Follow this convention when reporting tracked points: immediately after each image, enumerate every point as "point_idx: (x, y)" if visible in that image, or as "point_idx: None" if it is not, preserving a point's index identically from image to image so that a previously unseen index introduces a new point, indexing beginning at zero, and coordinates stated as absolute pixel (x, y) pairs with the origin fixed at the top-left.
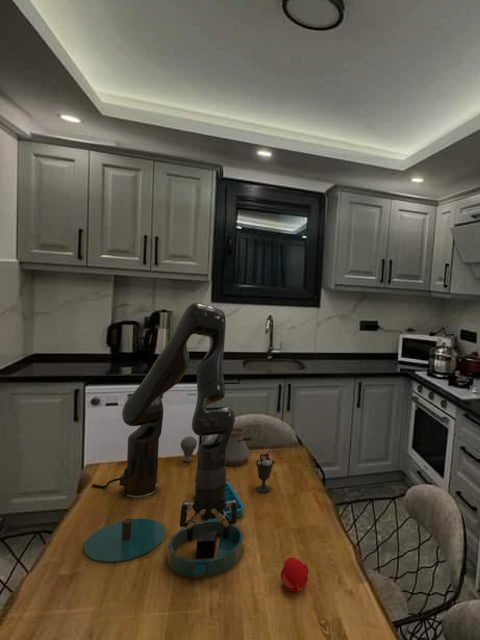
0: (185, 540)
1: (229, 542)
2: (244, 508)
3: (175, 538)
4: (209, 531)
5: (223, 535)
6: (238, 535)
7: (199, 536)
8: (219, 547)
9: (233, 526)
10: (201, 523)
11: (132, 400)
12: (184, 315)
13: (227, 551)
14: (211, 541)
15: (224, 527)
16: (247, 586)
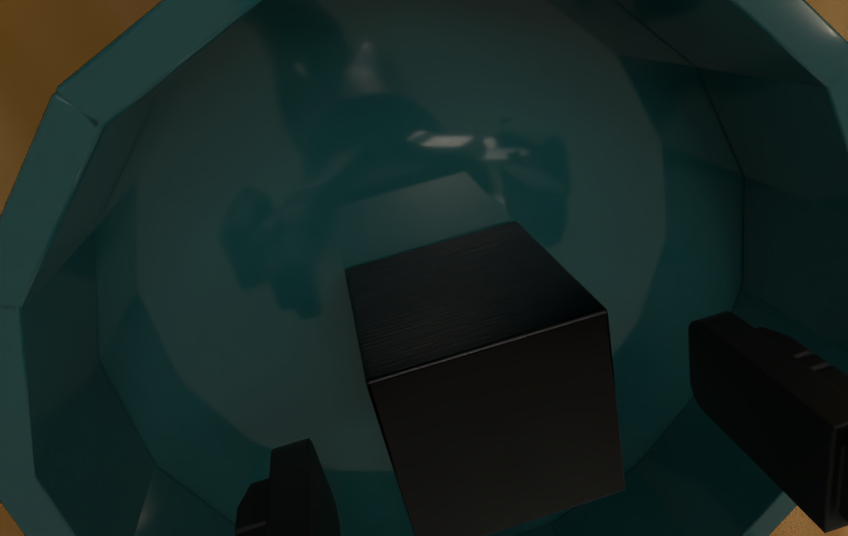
0: (109, 186)
1: (631, 96)
2: None
3: (45, 438)
4: (504, 344)
5: (735, 439)
6: (809, 155)
7: (411, 472)
8: (547, 204)
9: (780, 42)
10: (224, 27)
11: None
12: None
13: (638, 249)
14: (586, 496)
15: (832, 523)
16: (804, 521)
